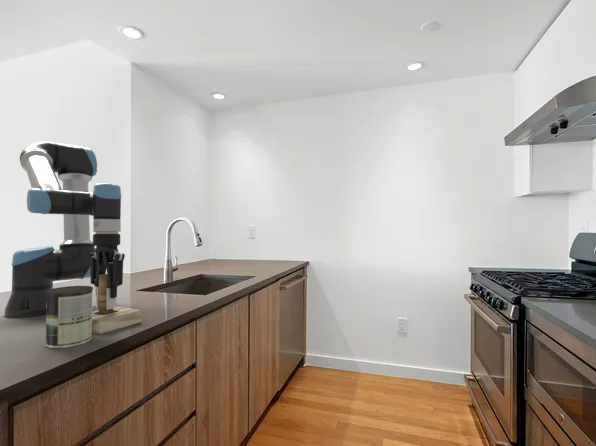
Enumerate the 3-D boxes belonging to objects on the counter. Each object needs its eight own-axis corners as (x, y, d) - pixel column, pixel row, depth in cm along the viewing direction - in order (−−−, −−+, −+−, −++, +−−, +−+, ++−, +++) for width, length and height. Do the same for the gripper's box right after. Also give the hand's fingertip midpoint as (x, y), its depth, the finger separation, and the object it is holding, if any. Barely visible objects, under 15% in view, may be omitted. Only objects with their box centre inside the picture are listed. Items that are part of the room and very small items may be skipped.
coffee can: (35, 349, 83) (36, 292, 83) (61, 336, 93) (61, 285, 93) (78, 348, 84) (79, 292, 84) (99, 335, 94) (100, 285, 94)
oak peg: (107, 310, 107) (107, 273, 107) (116, 312, 105) (116, 273, 105) (95, 313, 103) (95, 274, 103) (104, 315, 101) (104, 275, 101)
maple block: (72, 329, 99) (72, 315, 100) (115, 317, 112) (115, 306, 112) (99, 334, 95) (99, 320, 95) (140, 322, 107) (140, 309, 107)
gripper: (77, 233, 104) (76, 307, 104) (114, 233, 98) (113, 313, 97) (100, 232, 111) (99, 302, 111) (136, 233, 104) (135, 307, 104)
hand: (106, 307), depth 104 cm, fingers closed on oak peg, 4 cm apart
